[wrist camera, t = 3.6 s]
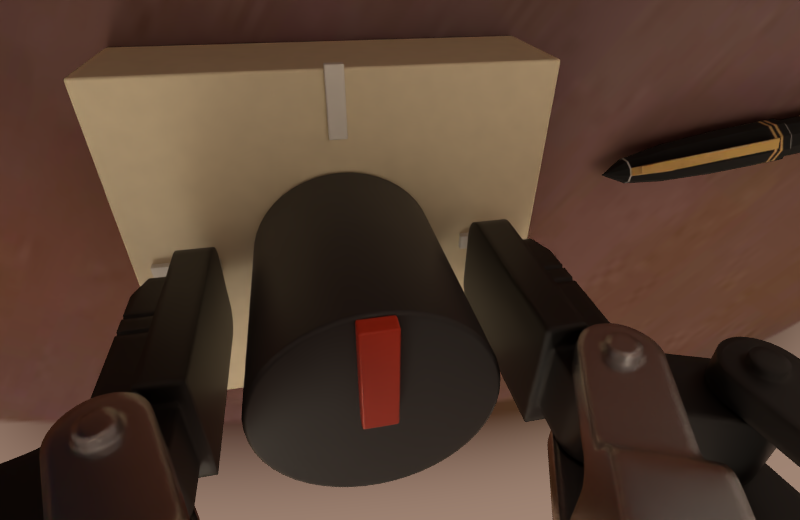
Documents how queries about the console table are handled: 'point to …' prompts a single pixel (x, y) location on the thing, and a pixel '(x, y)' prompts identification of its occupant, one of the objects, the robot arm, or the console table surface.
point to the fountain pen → (711, 152)
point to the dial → (359, 338)
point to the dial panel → (309, 139)
